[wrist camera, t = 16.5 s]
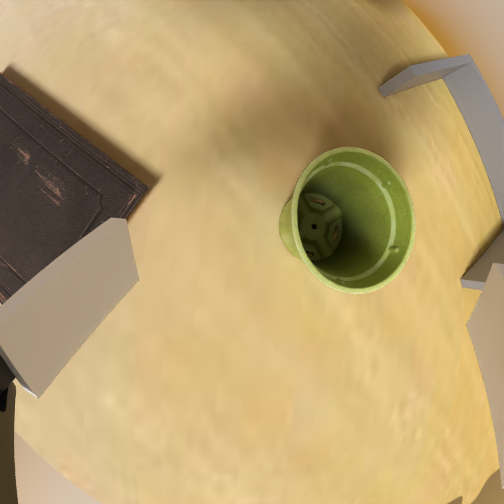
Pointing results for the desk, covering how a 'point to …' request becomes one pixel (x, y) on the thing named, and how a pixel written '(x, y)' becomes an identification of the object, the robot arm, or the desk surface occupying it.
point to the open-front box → (480, 126)
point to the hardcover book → (50, 188)
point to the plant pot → (350, 220)
